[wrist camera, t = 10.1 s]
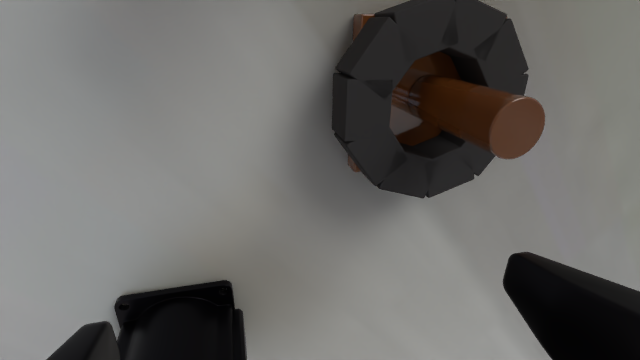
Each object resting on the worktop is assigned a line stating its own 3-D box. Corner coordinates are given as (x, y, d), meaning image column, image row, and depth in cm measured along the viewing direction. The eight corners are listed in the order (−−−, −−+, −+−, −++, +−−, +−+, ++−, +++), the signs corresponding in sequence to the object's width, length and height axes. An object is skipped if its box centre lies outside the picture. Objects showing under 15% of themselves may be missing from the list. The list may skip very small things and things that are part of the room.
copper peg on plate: (347, 165, 21) (408, 234, 14) (353, 14, 17) (436, 8, 11) (467, 154, 23) (573, 211, 16) (492, 15, 19) (640, 12, 12)
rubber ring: (330, 189, 20) (342, 208, 18) (334, -8, 16) (350, -13, 14) (477, 175, 22) (502, 189, 20) (513, -3, 18) (548, -6, 16)
